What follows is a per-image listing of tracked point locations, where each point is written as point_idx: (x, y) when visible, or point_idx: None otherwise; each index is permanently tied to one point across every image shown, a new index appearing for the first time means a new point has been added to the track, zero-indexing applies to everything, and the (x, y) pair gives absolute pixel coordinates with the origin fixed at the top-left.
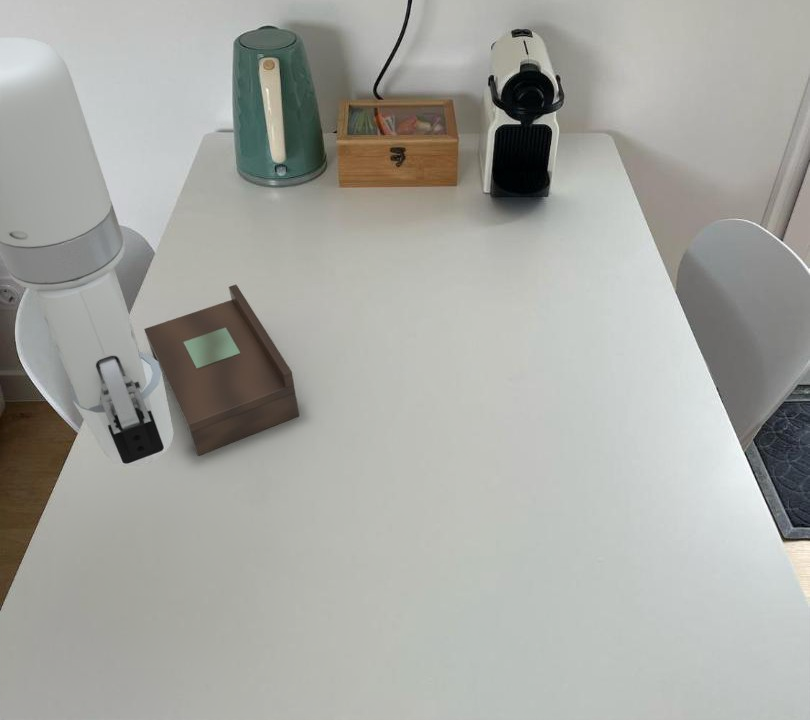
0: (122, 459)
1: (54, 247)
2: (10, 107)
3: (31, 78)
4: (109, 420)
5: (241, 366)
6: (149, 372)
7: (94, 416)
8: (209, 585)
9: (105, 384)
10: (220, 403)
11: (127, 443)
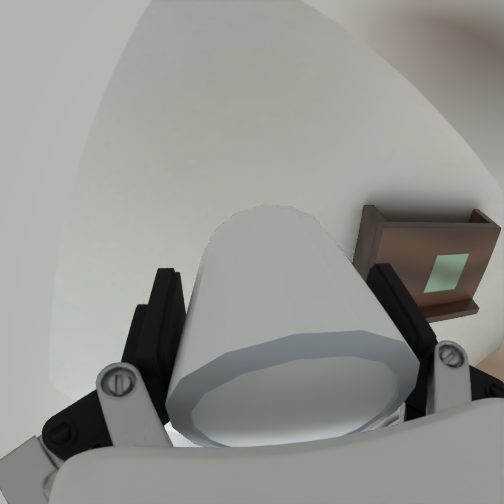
0: (156, 276)
1: None
2: None
3: None
4: (104, 409)
5: (410, 289)
6: None
7: (197, 349)
8: (206, 168)
9: (300, 401)
10: (386, 262)
11: (126, 341)
